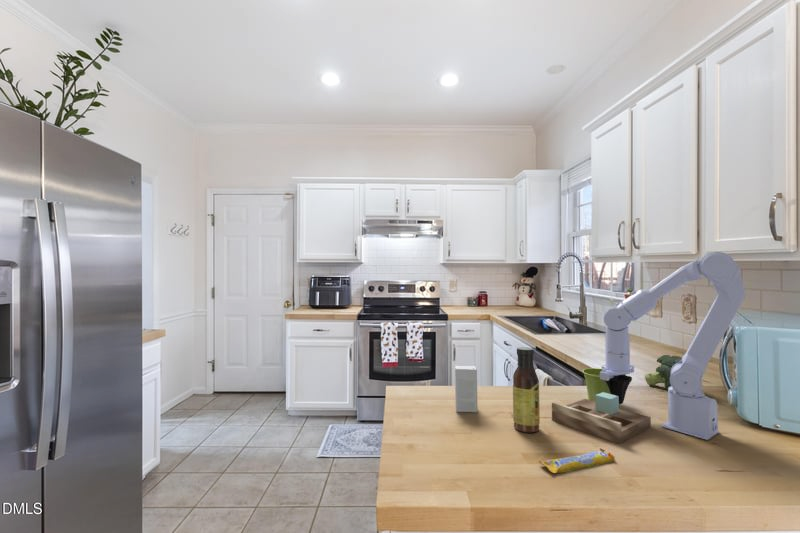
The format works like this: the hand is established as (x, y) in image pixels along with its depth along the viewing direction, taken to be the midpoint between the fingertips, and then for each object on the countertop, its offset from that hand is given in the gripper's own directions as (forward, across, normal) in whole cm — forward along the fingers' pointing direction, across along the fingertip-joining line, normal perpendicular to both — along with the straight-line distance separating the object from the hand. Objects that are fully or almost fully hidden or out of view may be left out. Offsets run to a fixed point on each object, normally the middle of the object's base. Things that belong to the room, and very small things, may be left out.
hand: (617, 402), depth 104 cm
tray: (+3, +9, 0) cm, 10 cm away
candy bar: (+4, +33, +8) cm, 34 cm away
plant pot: (+4, -8, -9) cm, 12 cm away
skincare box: (+4, +30, -27) cm, 41 cm away
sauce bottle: (+4, +27, -9) cm, 29 cm away
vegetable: (+4, -37, -2) cm, 37 cm away
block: (+1, +6, 0) cm, 6 cm away
